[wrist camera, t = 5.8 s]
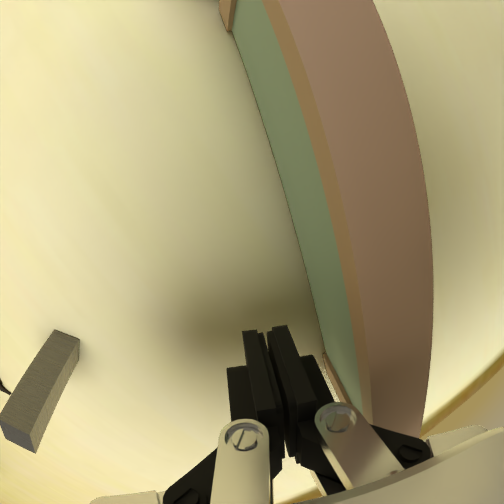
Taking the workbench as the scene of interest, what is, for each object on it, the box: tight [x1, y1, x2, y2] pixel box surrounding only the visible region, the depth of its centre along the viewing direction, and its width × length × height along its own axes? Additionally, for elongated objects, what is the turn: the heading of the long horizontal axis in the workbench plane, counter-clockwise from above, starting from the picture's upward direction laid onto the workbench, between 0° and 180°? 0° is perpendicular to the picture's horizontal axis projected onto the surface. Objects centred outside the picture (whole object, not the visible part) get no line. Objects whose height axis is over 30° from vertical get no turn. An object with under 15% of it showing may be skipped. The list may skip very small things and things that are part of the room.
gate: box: [219, 0, 433, 438], centre depth 10 cm, size 2×19×7 cm, turn 18°
